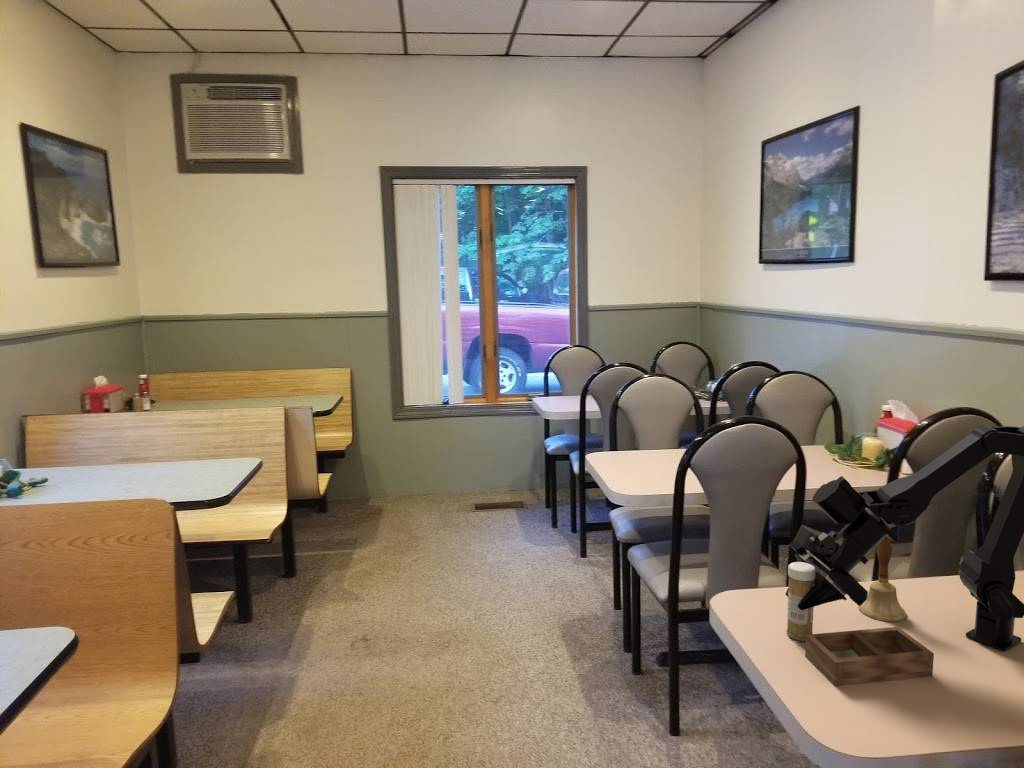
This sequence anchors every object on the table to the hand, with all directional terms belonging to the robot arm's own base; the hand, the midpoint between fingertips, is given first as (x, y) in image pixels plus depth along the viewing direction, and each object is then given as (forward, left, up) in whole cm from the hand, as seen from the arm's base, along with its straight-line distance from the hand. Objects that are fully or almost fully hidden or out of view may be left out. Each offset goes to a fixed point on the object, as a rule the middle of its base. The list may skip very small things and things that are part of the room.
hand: (793, 602), depth 129 cm
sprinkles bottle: (-1, +1, -7) cm, 7 cm away
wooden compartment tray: (-2, +13, -7) cm, 15 cm away
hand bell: (-22, +4, -7) cm, 24 cm away
